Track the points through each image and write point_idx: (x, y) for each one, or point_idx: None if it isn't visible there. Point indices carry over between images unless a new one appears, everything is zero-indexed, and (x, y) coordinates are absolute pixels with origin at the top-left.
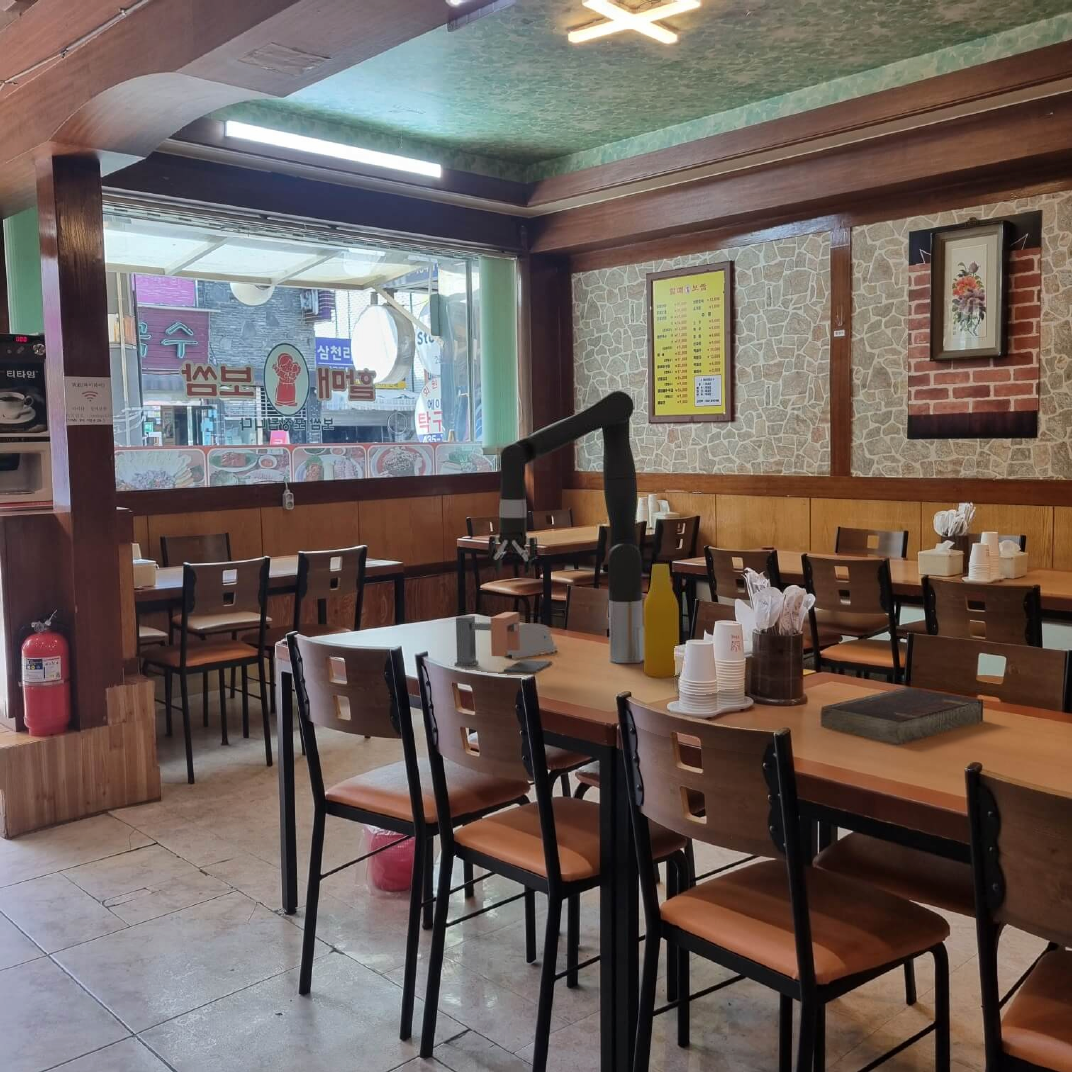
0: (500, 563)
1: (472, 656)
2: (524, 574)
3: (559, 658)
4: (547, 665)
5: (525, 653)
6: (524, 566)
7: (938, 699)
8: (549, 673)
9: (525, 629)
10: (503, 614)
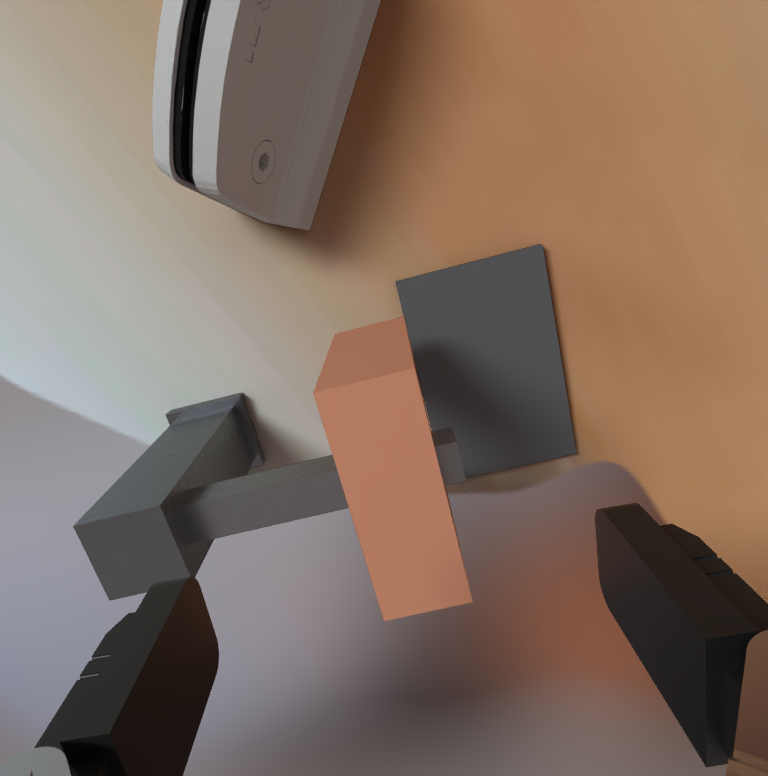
0: (157, 724)
1: (239, 447)
2: (607, 589)
3: (507, 106)
4: (550, 305)
5: (326, 151)
6: (667, 684)
7: None
8: (625, 418)
9: (255, 48)
10: (374, 490)
